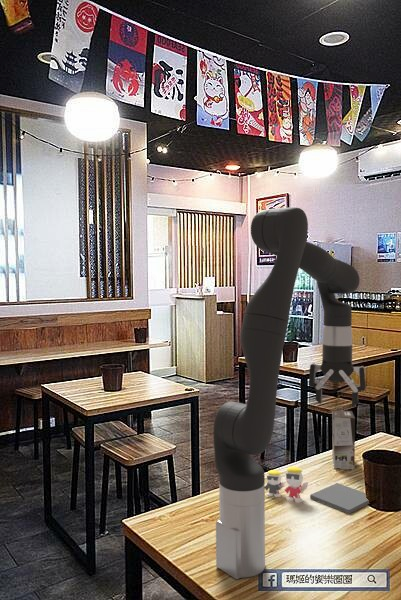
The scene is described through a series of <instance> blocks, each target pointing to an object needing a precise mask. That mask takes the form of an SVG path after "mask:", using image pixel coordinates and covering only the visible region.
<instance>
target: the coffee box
mask: <svg viewBox="0 0 401 600" xmlns="http://www.w3.org/2000/svg"><path fill="white" fill-rule="evenodd" d="M331 414H332V415H331V418H332V419H331V421H332V423H331V426H332V427H331V428H332V431H331V432H332V437H331V438H332V464H334V465H333V469H336V468H340V470H349V469H352V471H354V470H355V463H356V462H355V459H356V458H355V454H356V451H355V448H356V447H355V445H356V444H355V440H356V439H355V438H356V437H355V435H356V433H355V431H356V417H355V414H354V413H353V411H352V410H332V412H331ZM353 469H354V470H353Z"/></svg>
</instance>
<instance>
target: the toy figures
mask: <svg viewBox="0 0 401 600" xmlns="http://www.w3.org/2000/svg"><path fill="white" fill-rule="evenodd" d="M286 471H287V472H286V473H285V481H282V476H281V474H282V473H281V472H280V471H279V470H275V469H271V470H268V472H267V475H266V480H267V483H266V485H265V490H266V491H268V492H267V493H266V496H269V497H275V498H280V497H282V495H281V493H280V491H281V490H282V489H284V487H285V486H286V487H285V489H284V491H285V493H286V494H288V495H287V496H286V497H285V501H287V502H293V501H294V502H295V503H298V504H301V503H303V499H302V497H301V495H300V494H303V493H304V491H306V490H307V489H308V485H309V482H308V480H307V481H306V480H305V481H304V476H303V473H302V472H303V470H302V469H301V468H300V467H297V466H289V467H288V468H287V469H286ZM303 481H304V483H303ZM286 483H287V485H286ZM294 497H295V498H294Z"/></svg>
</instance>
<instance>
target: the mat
mask: <svg viewBox="0 0 401 600" xmlns="http://www.w3.org/2000/svg"><path fill="white" fill-rule="evenodd" d="M365 493H366V492H364V491H361V490H358V489H356V488H352V487H349V486H347V485H345V484H341V483H339V482H337V483H334V484H332V485H330V486H327V487H325V488H323V489H320V490H318V491H316V492H313V493H311V494H310V495H309V496H310V497H309V498H310V499H311V500H313V501H315V502H318V503H321V504H323V505H325V506H328V507H331V508H333V509H335V510H338V511H340V512H343V513H346V514H347V515H350V514H351V513H354V512H356V511H358V510H360V509H362V508H363V507H365V506H367V505H369V504H370V503H369V500H368V499H367V498H366V495H365Z"/></svg>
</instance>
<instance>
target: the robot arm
mask: <svg viewBox="0 0 401 600" xmlns="http://www.w3.org/2000/svg"><path fill="white" fill-rule="evenodd" d="M308 221H309V220H308V218H307V214H306V212H305V211H304V210H303V209H302V208H301V207H278V208H269V209H268V208H267V209H263V210H260V211H259V212H257V213H255V215H254V216H253V218H252V221H251V223H250V224H251V225H250V236H251V240H252V241H253V243H254V244H255V246H256V247H257V248H258V249H259V250H262V251H264V252H266V253H269V254H270V255H271V254H272V255H273V256H275V257H276V258H275V261H274V264H273V267H272V269H271V270H270V272H269V274H268V276H266V279H265V280H264V281H262V284H260V286H259V287H258V289H257V290H256V291H255V292H254V293H253V295H252V296H251V297H250V299H249V301H248V303H247V305H246V307H245V310H244V315H243V319H242V325H241V328H240V345H241V349H242V354H243V357H244V360H245V364H246V366H247V371H248V376H249V388H248V396H247V402H246V403H243V402H238V401H227V402H225V403H223V404H222V405H221V406H220V407H219V409H218V410H217V412H216V413H215V417H214V419H213V420H214V422H213V449H214V464H215V465H214V466H215V468H216V472H217V474H218V482H219V483H218V485H219V486H218V487H219V488H218V489H219V494H218V495H219V496H218V497H219V499H218V500H219V503H218V504H219V519H218V520H216V522H215V558H216V559H215V564H216V568H218V569H219V570H221V571H222V572H224V573H226V574H227V575H228V576H230V577H232V578H233V579H235V580H239V579H241V578H251V577H254V576H255V577H256V576H258V575H259V574H261V573H263V571H264V570H265V568H266V527H265V526H266V524H265V523H266V518H265V517H266V515H265V513H266V511H265V509H266V508H265V507H266V505H265V503H266V501H265V497H266V496H265V492H266V491H265V490H266V489H265V486H266V485H265V483H266V482H265V481H266V480H265V479H266V478H265V470H264V468H263V466H262V465H261V464H259V462H257V460H256V459H255V458H254V457H253V456H258V455H259V456H260V454H262V453H264V451H265V452H266V450H267V448H268V446H269V445H270V443H271V439H272V438H273V437H272V436H273V432H274V426H275V417H276V405H277V394H278V393H277V392H278V383H279V382H278V381H279V375H280V368H281V362H282V358H283V357H282V356H283V350H284V346H285V341H286V337H287V332H288V326H289V318H290V313H291V312H290V311H291V308H292V307H291V306H292V300H293V295H294V289H295V285H296V280H297V276H298V272H299V270H302V271H303V272H304V273H305V274H307V275H308V276H310V277H311V278H312V279H313V280H315V281H316V284H317V288H318V292H319V294H320V295H319V296H320V300H321V303H322V304H321V305H322V308H323V330H322V359H321V360H322V362H321V364H317V363H315V362H313V363H311V364H310V365H309V378H308V386H309V387H310V388H314V389H315V401H316V402H317V403H318V404H319V405H322V403H323V388H322V387H323V386H324V384H325V383H326V382H327V381H329V382H331V383H335V382H337V383H346V384H347V386H349V388H350V389H351V391H352V392H351V407H352V408H353V407H356V405H358V403H359V392H362V391H365V390H366V388H367V383H366V382H367V381H366V369H365V366H364V365H361V366H354V364H353V342H354V341H353V340H354V339H353V331H352V330H353V329H352V322H353V321H352V320H353V319H352V314H353V313H352V312H353V311H352V306H351V304H349V303H347V302H346V303H345V302H343V301H342V302H341V301H339V300H338V299H337V297H336V294H338V295H339V294H344V295H345V294H348V295H349V294H352V293H354V292H355V291H357V289H358V288H359V285H360V275H359V272H358V271H357V269H356V268H355V267H354V266H352V265H351V264H349V263H347V262H345V261H342V260H340V259H336V258H334V256H332V255H331V254H330V253H329V252H328V251H327V250H326V249H324V248H322V247H321V246H318V245H317V244H315V243H312V242H309V241H307V238H308V231H309V223H308ZM319 370H320V371H321V373H323V377H322V378H321V379H320V381H319V382H316V373H318V372H319ZM354 372H355V373H356V375H357V376H359V383H360V384H359V385H358V384H356V382H355V381H354V379H353V378H352V374H353V373H354Z"/></svg>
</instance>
